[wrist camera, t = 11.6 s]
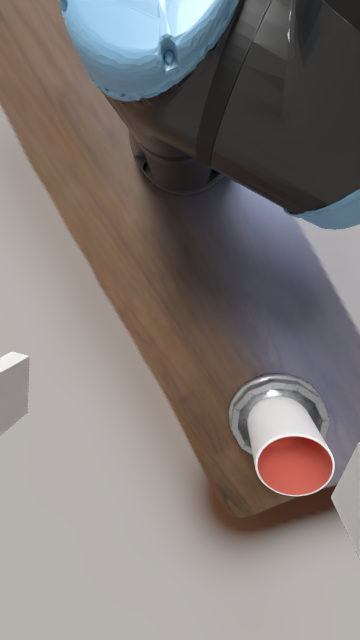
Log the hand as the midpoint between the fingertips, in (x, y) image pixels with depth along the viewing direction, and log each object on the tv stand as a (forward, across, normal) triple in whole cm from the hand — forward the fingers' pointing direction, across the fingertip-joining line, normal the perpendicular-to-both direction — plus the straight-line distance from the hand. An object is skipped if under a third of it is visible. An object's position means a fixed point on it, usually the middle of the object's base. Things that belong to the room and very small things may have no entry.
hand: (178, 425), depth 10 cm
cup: (+30, +16, -18) cm, 39 cm away
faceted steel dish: (+31, +16, -18) cm, 40 cm away
